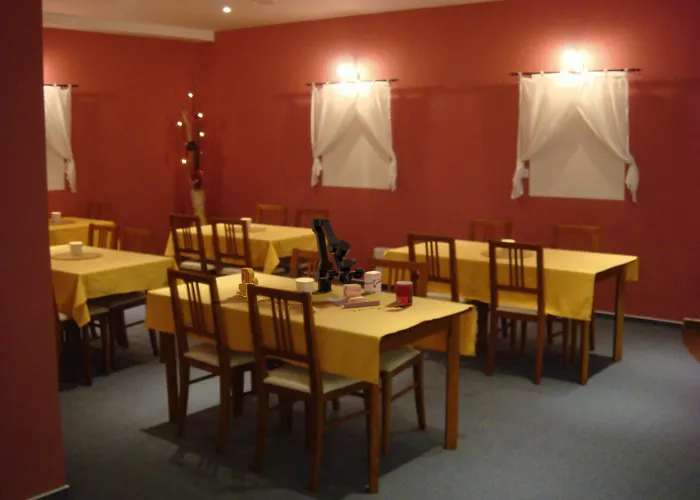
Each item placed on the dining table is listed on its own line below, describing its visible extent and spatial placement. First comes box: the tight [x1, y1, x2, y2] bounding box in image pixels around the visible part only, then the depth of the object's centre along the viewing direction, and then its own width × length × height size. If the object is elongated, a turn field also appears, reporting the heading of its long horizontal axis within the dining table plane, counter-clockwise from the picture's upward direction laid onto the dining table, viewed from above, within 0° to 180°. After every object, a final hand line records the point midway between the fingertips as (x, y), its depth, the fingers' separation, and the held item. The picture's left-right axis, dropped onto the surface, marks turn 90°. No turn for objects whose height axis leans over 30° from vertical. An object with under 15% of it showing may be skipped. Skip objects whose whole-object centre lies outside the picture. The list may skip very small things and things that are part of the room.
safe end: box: [338, 299, 381, 312], centre depth 355 cm, size 7×18×4 cm, turn 114°
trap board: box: [324, 295, 371, 306], centre depth 367 cm, size 18×18×2 cm
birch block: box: [342, 283, 366, 303], centre depth 360 cm, size 10×7×8 cm
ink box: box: [363, 270, 382, 295], centre depth 385 cm, size 9×5×12 cm, turn 143°
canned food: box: [395, 280, 414, 307], centre depth 361 cm, size 8×8×11 cm
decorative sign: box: [235, 267, 260, 297], centre depth 379 cm, size 20×3×15 cm, turn 41°
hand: (349, 288), depth 364 cm, fingers closed
